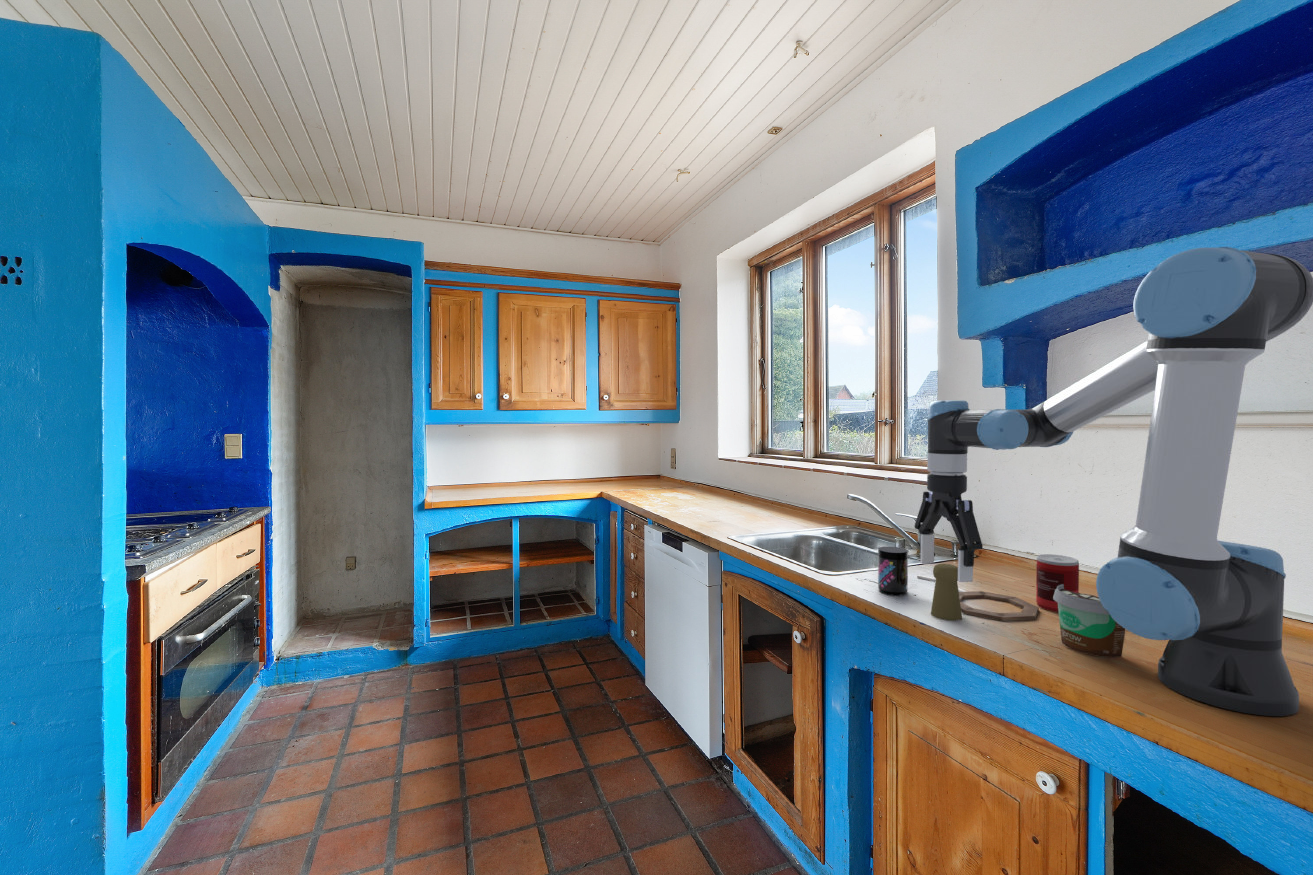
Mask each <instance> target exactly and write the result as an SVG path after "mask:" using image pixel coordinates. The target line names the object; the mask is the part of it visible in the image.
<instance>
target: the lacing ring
mask: <svg viewBox="0 0 1313 875" xmlns="http://www.w3.org/2000/svg"><path fill="white" fill-rule="evenodd" d="M959 598H960V605H961V612H962V614H964V615H967V616H968V615H969V616H974V617H980V618H983V619H989V620H996V621H1000V622H1014V621H1015V622H1016V621H1034V620H1035V619H1036V618H1037V616H1038V614H1039V612H1040V607H1039V606H1038V605H1035V604H1032V603H1031V602H1028V601H1026V600H1024V599H1022V598H1019V597H1016V596H1012V595H1007V594H1002V593H1001V594H1000V593H995V592H994V593H993V592H988V591H981V590H975V591H972V590H971V591H966V592H959ZM964 599H967V600H968V599H969V600H970V599H986V600H987V599H989V600H993V601H1001V602H1005V603H1009V604H1011V605H1014V606H1016V607H1018V608H1020V609H1022V610H1021V611H1016V612H1014V611H1013V612H1012V611H1011V612H996V611H995V612H994V611H991V610H984V609H979V608H974V607H972V606H970V605H968V604H966V603H964V602H962V601H963V600H964ZM1035 621H1036V620H1035Z"/></svg>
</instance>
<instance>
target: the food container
mask: <svg viewBox="0 0 1313 875" xmlns="http://www.w3.org/2000/svg"><path fill="white" fill-rule="evenodd" d="M1053 599H1054V600H1055V601H1056V602H1058V611H1059V612H1058V618H1059V619H1058V620H1059V630H1060V639H1061V641H1060V642H1061V643H1062V645H1064V646H1065V647H1067V648H1068V649H1070V650H1073V651H1076V652H1079V653H1082V654H1087V655H1089V656H1090V655H1091V656H1095V657H1101V658H1102V657H1103V658H1121V657H1123V649H1124V643H1125V636H1126V635H1125V634H1126V629H1125V628H1123V627H1122V626H1120V625H1119V624H1118V623H1117V622H1116V621H1115V620H1114V619H1113V618H1112V617H1111V615H1110V614H1109V612H1108V611H1107V610H1106V609H1104V607H1103V605H1102V604H1101V602H1100V599H1099V597H1098V596H1096V595H1094V594H1087V593H1076V592H1072V591H1068V590H1065V589H1064V585H1063V584H1062V585H1059V586H1057V589H1056V590H1055V593H1054V596H1053Z"/></svg>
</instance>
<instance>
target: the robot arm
mask: <svg viewBox="0 0 1313 875" xmlns="http://www.w3.org/2000/svg"><path fill="white" fill-rule="evenodd" d="M1134 294H1135V295H1134V299H1133V313H1134V318H1135V320H1136V322H1138V323H1139V324H1140V326H1142V327H1141V328H1143V329H1144V331H1146V332H1147V333H1148V335H1147V340H1146V341H1144V342H1143V343H1140V344H1139V345H1137V346H1135V347H1133V348H1132V349H1130V350H1129V351H1127V352H1126V353H1124V354H1122V355H1121V356H1119V357H1116V358H1115V359H1113V360H1112V361H1110V362H1109V363H1106V364H1105V365H1103V366H1102V367H1100V368H1098V369H1097V370H1095V371H1093V372H1092V373H1090V374H1088V375H1087V376H1085V377H1083V378H1082V379H1080V380H1078V381H1076V382H1075V383H1072V384H1071V385H1069V386H1068V387H1067V388H1065V389H1063V390H1061V391H1059V392H1058V393H1056V394H1054V395H1053V396H1051V397H1049V398H1048V399H1046V400H1045V401H1042V402H1041V403H1040V404H1038V405H1036V406H1034V407H1033V408H1029V409H1007V408H1006V409H1004V408H1003V409H1002V408H997V409H970V408H969V403H968V401H967V400H934V401H931V402H930V404H929V406H928V418H927V464H926V465H927V468H926V469H927V471H928V472H929V473H928V474H927V475H926V476H927V477H926V484H927V485H926V489H927V490H928V491H926V490H925V491H923V492H922V502H921V505H920V507H919V510H918V513H917V516H916V520H915V522H914V529H915V530H918V533H919V534H920V564H923V565H925V564H927V565H928V564H934V563H935V562H934V561H935V528H936V526H938V523H939V521H940V520H941V518H942V517H943V518H945V519H946V520H947V521H948V522H949V523H950V524H951V527H952V529H953V532H954V535H955V537H956V539H957V541H958V544H959V546H960V547H958V550H957V554H958V555H957V567H958V581H957V582H958V583H970V582H973V581H974V578H973V576H974V564H975V551H978V550H983V543H982V539H981V538H982V537H981V534H980V532H979V528H978V524H977V521H976V517H975V514H974V506H973V505H974V503H973V500H971V499H968V500H967V499H962V495H963V494H964V493H966V492H967V490H968V476H967V475H966V474H965V473H966V472H968V452H969V451H968V450H969V447H971V448H981V449H992V450H994V451H995V450H996V451H998V450H1002V451H1003V450H1014V449H1017V448H1039V447H1040V448H1050V447H1053V446H1061V445H1063V444H1065V443H1066V442H1068V441H1070V438H1071V437H1072V436H1073V434H1074V432H1075V431H1077V430H1079V429H1081V428H1082V427H1085V426H1087V425H1089V424H1090V423H1093V422H1095V421H1097V420H1099V419H1100V418H1103V417H1105V416H1106V415H1108V414H1111V413H1112V412H1114V411H1116V410H1118V409H1120V408H1122V407H1124V406H1126V405H1128V404H1130V403H1132V402H1134V401H1136V400H1138V399H1140V398H1142V397H1144V396H1145V395H1146V396H1147V395H1148V394H1150V393H1151V392H1153V393H1154V394H1153V401H1152V408H1151V414H1150V415H1151V416H1150V421H1149V429H1148V436H1147V444H1146V450H1145V457H1144V464H1143V471H1142V479H1141V486H1140V493H1139V500H1138V508H1137V514H1136V520H1135V526H1134V527H1133V528H1130V529H1128V530H1126V531H1124V532H1123V533H1121V534H1120V536H1119V538H1120V539H1119V545H1118V551H1117V556H1116V557H1115V558H1113V559H1110V560H1108V562H1106V563H1105V564H1104V565H1102V566H1101V567H1100V569H1099V571H1098V573H1097V576H1096V579H1095V586H1096V593H1097V597H1099V599H1100V602H1101V604H1102V605H1103V607H1104V609H1106V610H1107V611H1108V612H1109V614H1110V615H1111V617H1112V618H1113V619H1114V620H1115V621H1116V622H1117V623H1118V624H1119V625H1120V626H1122V627H1123V628H1125V631H1127V632H1130V633H1132V634H1134V635H1136V636H1138V637H1141V638H1144V639H1146V640H1147V639H1148V640H1153V641H1167V644H1166V645H1165V648H1164V650H1163V653H1162V656H1161V657H1160V658H1159V660H1158V663H1157V678H1158V680H1159V681H1160V682H1161V683H1162V684H1163V685H1165V686H1166V687H1167V688H1169V689H1171V690H1172V691H1174V692H1177V693H1179V694H1181V695H1182V696H1185V697H1187V698H1190V699H1193V700H1196V701H1199V702H1201V703H1205V704H1208V705H1211V706H1214V707H1218V708H1221V709H1225V710H1229V711H1233V712H1239V713H1244V714H1249V715H1250V714H1251V715H1254V716H1255V715H1257V716H1266V717H1286V716H1287V717H1288V716H1292V715H1295V714H1297V713H1299V711H1300V694H1299V691H1298V689H1297V688H1296V686H1295V684H1294V681H1293V679H1292V676H1291V673H1290V670H1289V668H1288V665H1287V662H1286V660H1285V657H1284V655H1283V625H1284V624H1283V623H1284V598H1285V597H1284V595H1285V579H1286V577H1287V574H1286V573H1285V569H1284V568H1285V566H1284V559H1283V558H1284V557H1282V555H1281V554H1280V553H1279V552H1277V551H1275V550H1273V549H1270V548H1267V547H1261V546H1256V545H1255V546H1254V545H1250V544H1245V543H1244V544H1243V543H1236V542H1231V541H1224V540H1218V534H1219V529H1220V521H1221V516H1222V509H1223V503H1224V497H1225V491H1226V490H1225V489H1226V485H1227V479H1228V473H1229V468H1230V466H1229V465H1230V461H1231V454H1232V449H1233V443H1234V438H1235V430H1236V424H1237V418H1238V411H1239V407H1240V406H1239V405H1240V401H1241V394H1242V389H1243V388H1242V387H1243V382H1244V375H1245V369H1246V366H1247V364H1249V363H1250V362H1251V361H1253V360H1255V358H1257V357H1259V356H1260V355H1262V354H1264V353H1265V350H1266V343H1267V342H1269V341H1271V340H1273V339H1274V338H1277V337H1278V336H1280V335H1282V334H1284V333H1286V332H1287V331H1289V330H1290V329H1291V328H1293V327H1294V326H1295V325H1297V324H1298V323H1299V322H1301V320H1302V319H1303V318H1304V317H1305V316H1306V315H1307V314H1308V313H1309V311H1310V309H1311V307H1312V305H1313V276H1312V273H1311V271H1309V269H1308V268H1306V267H1305V265H1303V264H1302V263H1301V262H1299V261H1298V260H1295V259H1293V258H1291V257H1289V256H1285V255H1282V254H1275V253H1268V252H1267V253H1262V252H1257V251H1248V250H1242V249H1239V248H1235V247H1231V246H1221V247H1198V248H1191V249H1188V250H1184V251H1180V252H1178V253H1176V254H1173V255H1171V256H1169V257H1168V258H1165V259H1164V260H1163V261H1161V262H1160V263H1159V264H1157V265H1156V266H1155V267H1154V268H1153V269H1151V270H1150V271H1149V272H1148V273H1147V274H1146V276H1145V277H1143V279H1142V280H1141V282H1140V284H1139V285H1138V287H1137V290H1136V292H1135V293H1134Z"/></svg>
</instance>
